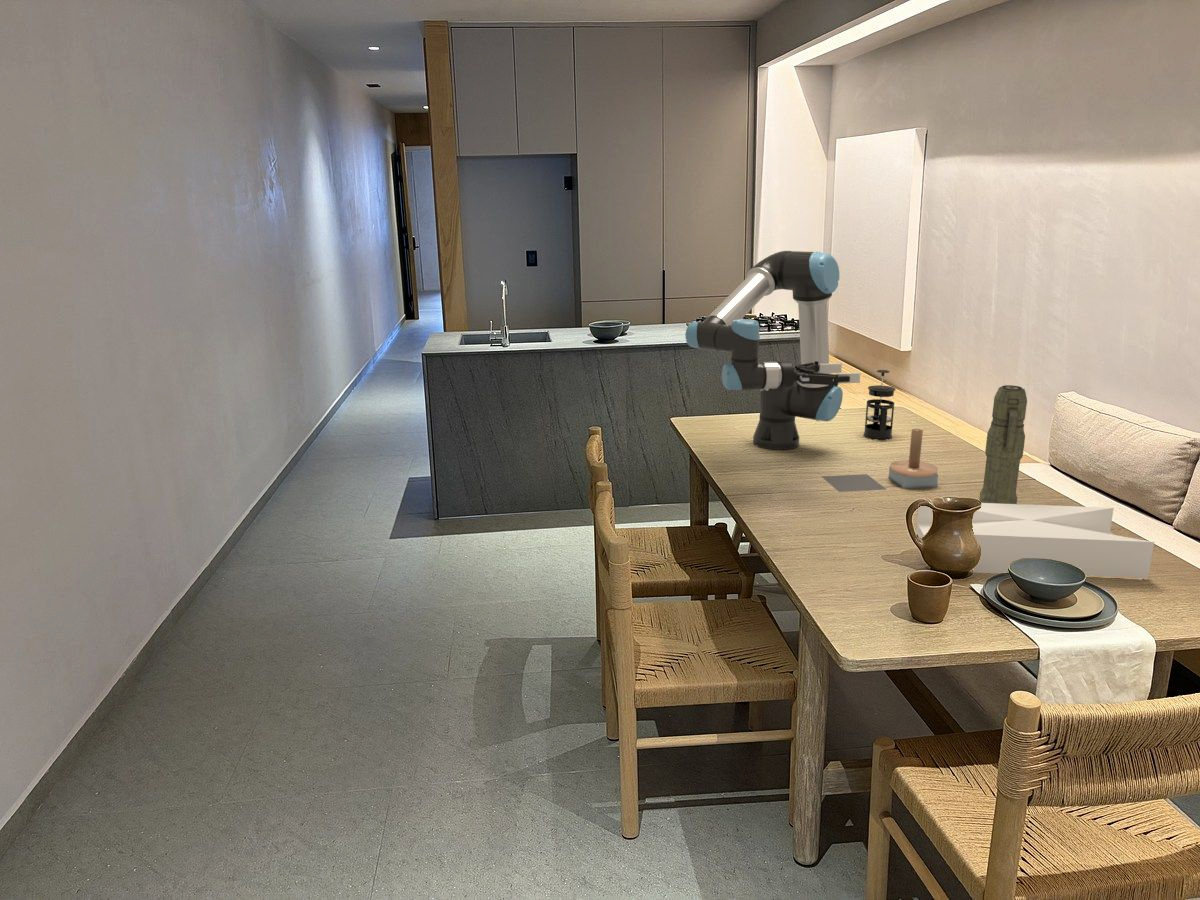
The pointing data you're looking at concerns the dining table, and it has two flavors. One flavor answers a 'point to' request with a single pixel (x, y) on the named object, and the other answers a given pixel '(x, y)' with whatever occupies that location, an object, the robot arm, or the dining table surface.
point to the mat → (853, 483)
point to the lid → (914, 460)
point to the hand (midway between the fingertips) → (850, 372)
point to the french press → (881, 429)
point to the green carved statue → (1004, 446)
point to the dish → (913, 480)
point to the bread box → (1052, 538)
